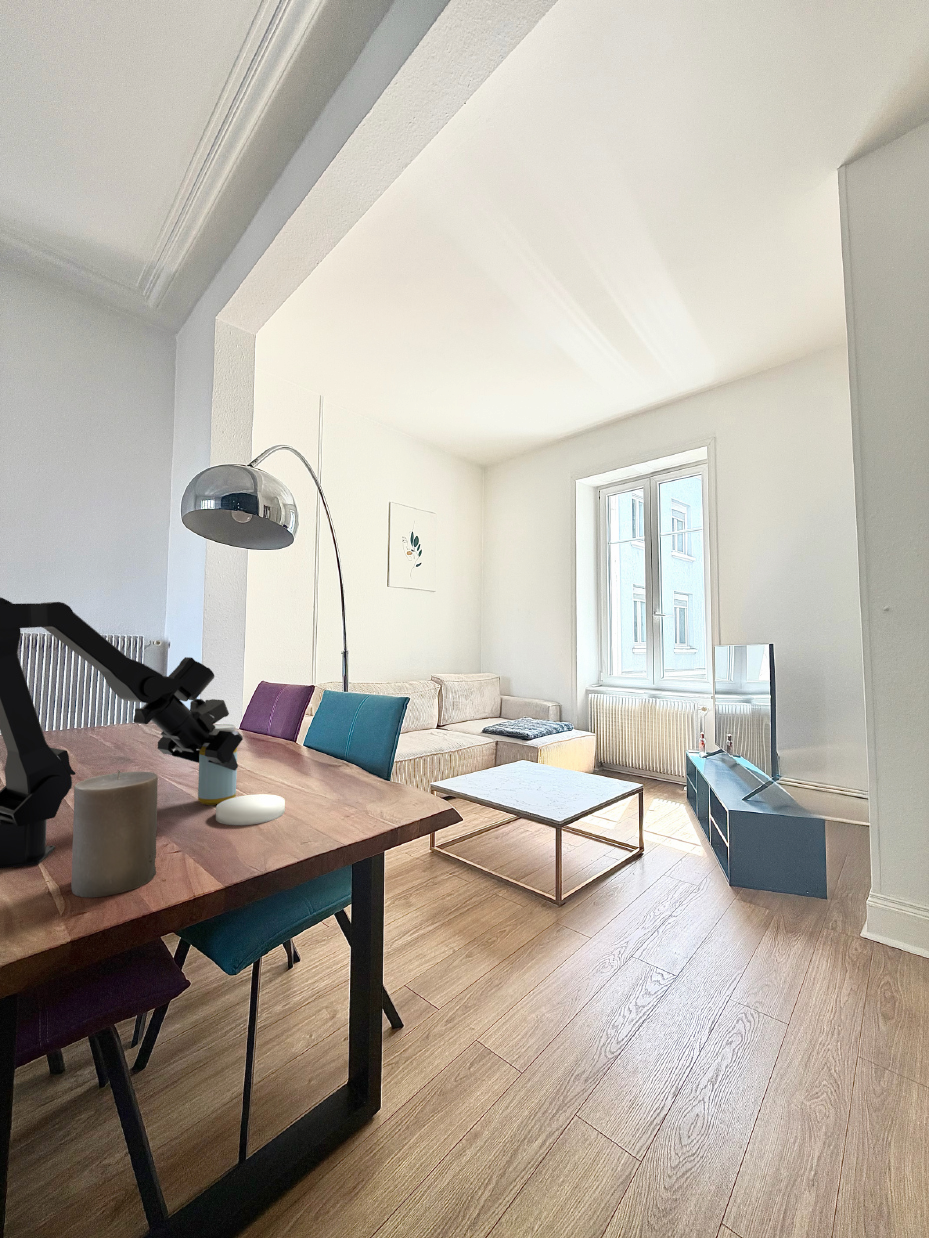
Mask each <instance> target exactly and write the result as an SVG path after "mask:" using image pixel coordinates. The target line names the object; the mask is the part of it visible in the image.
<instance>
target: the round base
mask: <svg viewBox="0 0 929 1238" xmlns="http://www.w3.org/2000/svg"><path fill="white" fill-rule="evenodd" d="M285 801H286V800H285V798H284V797H283V796H280V795H275V794H267V793H264V794H263V793H261V794H246V795H240V796H235V797H234V798H231V799H228V800H225V801H223V802H221V803H219V804H217V805H216V807H215V820H216V822H218V823H219V824H222V825H227V826H250V825H256V824H257V825H259V824H263V823H266V822H267V823H268V822H271V821H275V820H276V819H279V818H280V817H281V816H283V815H284V814H285V810H286V809H285V803H286V802H285Z"/></svg>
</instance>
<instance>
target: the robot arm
mask: <svg viewBox="0 0 929 1238" xmlns="http://www.w3.org/2000/svg"><path fill="white" fill-rule="evenodd" d="M32 628H43V630H46V631H47V632H48V633H50V635H52V636H53V637H55V639H58V640H59V642H61V643H62V644H64V645H65V646H66V647H67V648H69V649H70V650H71V651H72V652H73V653H75V654H77V656H80V657H81V658H82V659H83V660H84V661H86V662H87V663H88V664H89V665H90V666H92V667H93V668H95V669H96V670H98V672H100V674H101V675H102V676H103V677H104V680H105V682H106V684H107V686H108V687H109V688H110V689H111V690H112V691H113V693H114V694H115V695H116V696H117V697H118V698H119V699H121V700H122V701H125V702H126V701H127V702H134V703H143V704H144V705H143V706H142V707H139V708H138V707H136V708H135V709H134V716H133V724H141V725H149V723H150V722H151V721H152V723H153V724H154V725H156V727H158V728H159V729H160V730H161V731H162V732H161V733H160V736H162V737H161V738H160V739H159V740H158V741H157V749H158V750H159V751H160V752H161V753H162V754H164V755H168V756H169V755H170V756H171V757H174V758H177V759H178V758H179V759H182V760H185V761H186V760H187V761H189V762H193V763H197V764H199V753H200V749H201V748H202V746H203V747H207V748H206V749H205V757H206V758H207V759H208V760H209V761H208V762H209V763H212V764H215V765H218V766H221V767H224V768H228V769H231V770H234V771H235V770H236V769H237V770H238V767H239V764H238V760H237V761H236V759H235V756H234V753H233V752H234V751H235V749H236V748H237V749H238V748H239V745H240V744H241V743H242V741H243V740H244V736H243V735H242V734H241V733H240V732H239V731H238V730H236V731H234V730H226V729H225V730H220V731H219V732H218V733H217V735H210V734H209V733H210V732H212V731H213V730H214V729H215V726H214V725H216V723H218V722H220V721H221V720H222V719H224V718H227V717H228V716H229V715H230V712H229V710H228V707H227V705H226V702H225V700H224V699H217V698H216V699H215V698H212V699H206V700H204V699H202V698H199V696H200V695H201V694H202V693H203V691H204V690H205V689H206V688H207V687H208V685H210V684H211V682H212V681H213V680H214V678H215V674H214V671H212V669H210V668H209V667H207V666H205V665H204V663H203V664H202V663H201V662H199V661H197V660H195V659H194V658H193V657H190V656H189V657H184V658H183V659H182V660H181V661H180V662H179V665H177V667H175V669H174V670H173V671H171V673H170V674H169V675H167V676H166V675H163V674H162V673H161V672H159V671H157V670H156V669H154V668H152V667H150V666H149V665H147V664H145V663H142V662H140V661H137V660H135V659H133V658H131V657H129V656H127V655H126V654H125V653H124V652H122V651H121V650H120V649H118V647H116V646H115V645H114V644H112V642H110V641H109V640H108V639H106V638H105V636H103V635H101V634H100V632H98V631H97V630H95V629H94V627H92V626H91V625H90V624H88V623H87V621H85V620H84V619H83V618H82V617H80V616H79V615H78V614H77V613H76V612H74V611H73V609H72V608H71V606H69V605H68V604H66V603H64V602H62V601H51V602H49V601H48V602H46V601H45V602H41V603H36V602H35V603H32V602H30V603H27V602H26V603H13V602H12V601H10V600H7V599H5V598H4V597H1V596H0V734H1V737H2V739H3V743H4V745H5V749H6V751H7V755H6V759H5V760H6V761H5V765H4V776H5V777H4V779H5V786H4V787H3V788H1V789H0V869H1V870H2V869H8V868H9V869H10V868H17V867H18V868H19V867H27V866H35V865H39V864H40V863H41V862H42V861H43V860H44V859H45V858H46V857H48V856H49V855H50V854H51V853H52V852H53V851H54V850H55V849H56V845H47V829H48V827H47V826H48V820H50V819H54V818H56V816H57V813H58V812H59V809H60V807H61V804H62V802H63V800H64V798H65V797H66V796H67V795H68V793H69V792H70V790H71V789H72V788H73V779H72V776H74V775H76V774H77V773H76V772H75V771H74V770H73V768H72V767H71V764H70V756H69V753H68V751H67V750H65V749H60V748H57V747H51V746H50V745H49V744H48V743H47V741H46V738H45V734H44V733H43V732H44V731H43V729H42V725H41V723H40V720H39V717H38V713H37V711H36V707H35V705H34V704H35V703H34V701H33V698H32V695H31V692H30V689H29V686H28V683H27V681H26V677H25V674H24V671H23V669H22V665H21V662H20V659H19V646H20V641H21V635H22V633H21V631H22V630H21V629H32ZM188 701H190V704H189V707H188V706H186V705H185V704H184V702H188Z"/></svg>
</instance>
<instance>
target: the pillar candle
mask: <svg viewBox="0 0 929 1238" xmlns="http://www.w3.org/2000/svg"><path fill="white" fill-rule="evenodd" d="M158 778H159V777H158V774H157V773H155V772H152V771H123V772H121V769H118V770H117V772H114V773H109V774H103V775H102V774H101V775H98V776H93V777H89V778H87V779H84V780H80V781H78V782H77V783H76V784H74V785H73V790H74V792H73V793H74V794H73V827H72V828H73V829H72V832H73V833H72V851H71V853H72V855H71V856H72V857H71V860H72V861H71V884H70V885H71V886H70V887H71V892H72V894H73V895H75V896H77V897H82V898H87V899H88V898H100V897H107V896H113V895H115V894H119V893H121V894H122V893H124V892H127V891H132V890H134V889H138V888H139V887H142V886H143V885H146V884H147V883H149V882H150V881H152V880H153V879H154V878H155V877H156V875H157V867H156V858H157V828H158V827H157V825H158V824H157V823H158Z"/></svg>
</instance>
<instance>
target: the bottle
mask: <svg viewBox="0 0 929 1238" xmlns="http://www.w3.org/2000/svg"><path fill="white" fill-rule="evenodd" d="M213 725H214V726H215V729H214V730H213V731H212V732H210V733H209V734H210V735H217V733H218V732H219V731H220V730H225V729H226V730H234V731H237V730H236V726H237V725H236V724H230V723H229V724H227V723H223V724H222V723H220V724H213ZM206 748H207V747H203V746H202V748H201V749H200V753H199V763H198V784H197V785H198V787H197V799H198V800H197V801H198V802H199V803H200V804H202V805H205V804H206V806H207V805H208V806H214V805H216V804H217V805H218V804H219V803H221V802H223V801H225V800H228V799H231V798H235V797H237V776H238V775H237V774H238V773H237V770H238V768H237V769H236V770H235V771H234V770H231V769H228V768H224V767H221V766H218V765H215V764H212V763H209V762H208V761H209V760H208V759H207V758H206V757H205V749H206ZM233 753H234V756H235V759H236V761H237V762H238V747H237V748H236V749H235V751H234V752H233ZM217 805H216V806H217Z"/></svg>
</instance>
